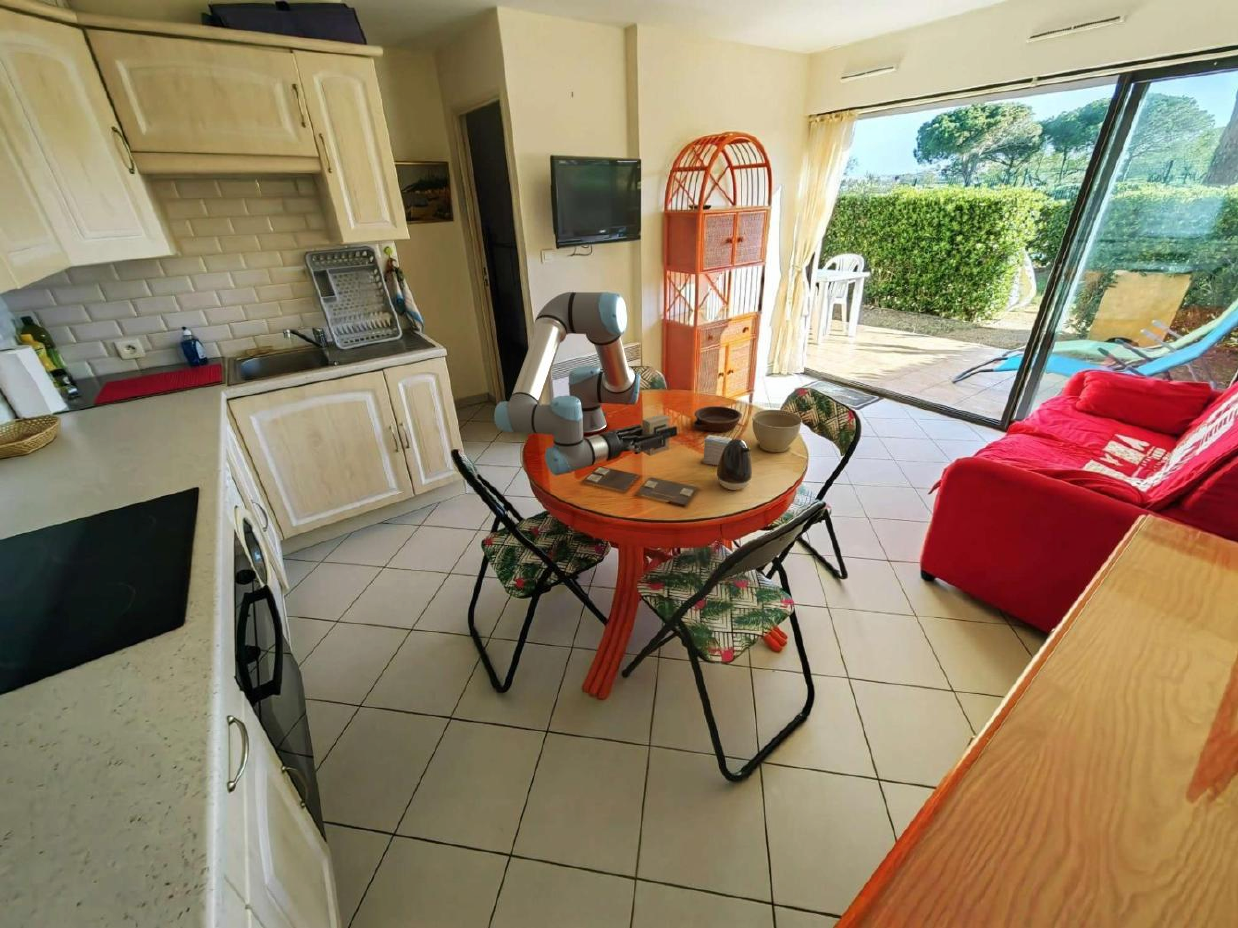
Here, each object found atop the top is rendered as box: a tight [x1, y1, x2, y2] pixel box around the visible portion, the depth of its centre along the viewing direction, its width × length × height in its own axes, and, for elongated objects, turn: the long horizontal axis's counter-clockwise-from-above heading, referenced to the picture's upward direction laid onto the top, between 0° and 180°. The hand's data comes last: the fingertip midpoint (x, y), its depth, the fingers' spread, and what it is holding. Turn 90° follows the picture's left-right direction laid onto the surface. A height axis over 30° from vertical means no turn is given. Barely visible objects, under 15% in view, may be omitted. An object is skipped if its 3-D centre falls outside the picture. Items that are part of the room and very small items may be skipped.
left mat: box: [582, 466, 640, 492], centre depth 157 cm, size 14×11×1 cm
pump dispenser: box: [716, 438, 753, 491], centre depth 149 cm, size 10×10×15 cm
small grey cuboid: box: [641, 413, 671, 456], centre depth 144 cm, size 4×7×10 cm, turn 123°
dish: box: [692, 405, 743, 433], centre depth 194 cm, size 18×22×5 cm
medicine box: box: [702, 434, 733, 466], centre depth 165 cm, size 8×4×9 cm, turn 65°
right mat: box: [636, 476, 698, 508], centre depth 149 cm, size 15×11×1 cm
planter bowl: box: [751, 409, 803, 453], centre depth 174 cm, size 16×16×11 cm
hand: (671, 428), depth 147 cm, fingers closed on small grey cuboid, 4 cm apart
